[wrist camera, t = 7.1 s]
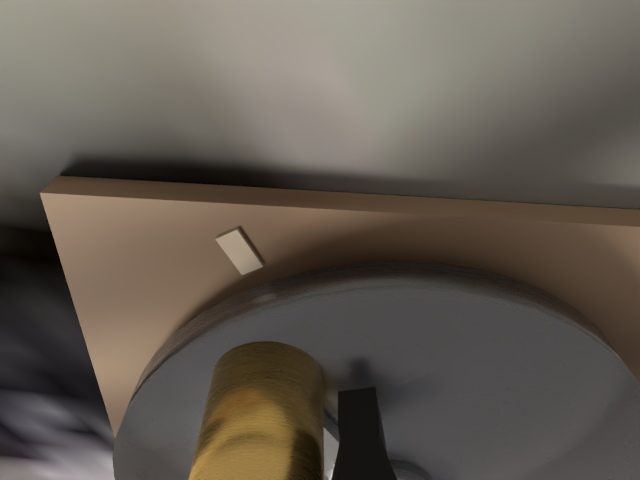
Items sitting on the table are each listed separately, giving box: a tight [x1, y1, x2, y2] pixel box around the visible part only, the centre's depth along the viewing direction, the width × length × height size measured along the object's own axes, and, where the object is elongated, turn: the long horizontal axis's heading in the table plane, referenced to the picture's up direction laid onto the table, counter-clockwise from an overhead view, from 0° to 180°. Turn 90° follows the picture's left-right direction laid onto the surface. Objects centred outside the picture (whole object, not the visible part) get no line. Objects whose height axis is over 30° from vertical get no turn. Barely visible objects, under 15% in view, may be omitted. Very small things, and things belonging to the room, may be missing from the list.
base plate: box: [40, 176, 640, 439], centre depth 18 cm, size 20×20×1 cm
